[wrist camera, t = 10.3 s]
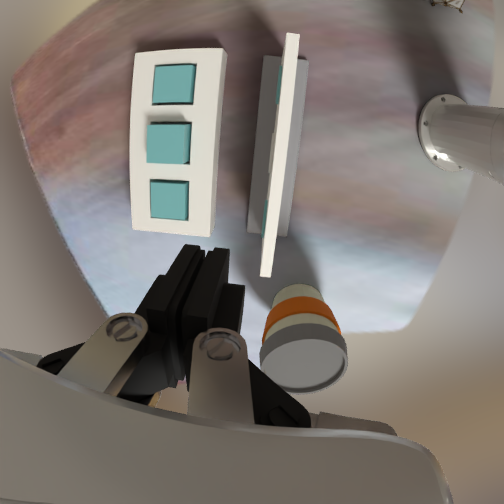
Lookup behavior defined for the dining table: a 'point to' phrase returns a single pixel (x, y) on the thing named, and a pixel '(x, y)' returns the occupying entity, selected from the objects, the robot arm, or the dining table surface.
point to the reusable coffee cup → (302, 342)
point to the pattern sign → (277, 147)
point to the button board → (202, 138)
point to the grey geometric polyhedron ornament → (450, 3)
